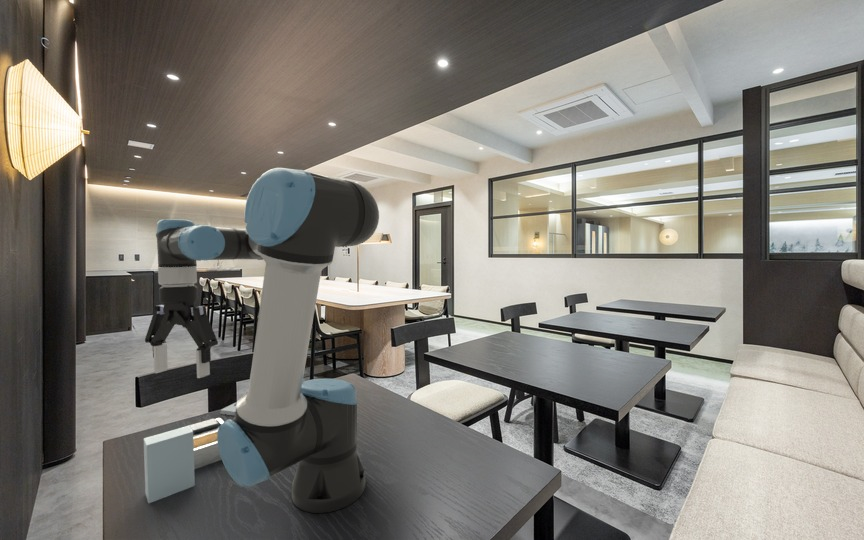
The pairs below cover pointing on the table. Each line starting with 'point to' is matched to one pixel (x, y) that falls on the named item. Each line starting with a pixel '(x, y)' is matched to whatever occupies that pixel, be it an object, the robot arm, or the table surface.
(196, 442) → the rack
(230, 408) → the electronic device
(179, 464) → the block
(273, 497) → the table surface
